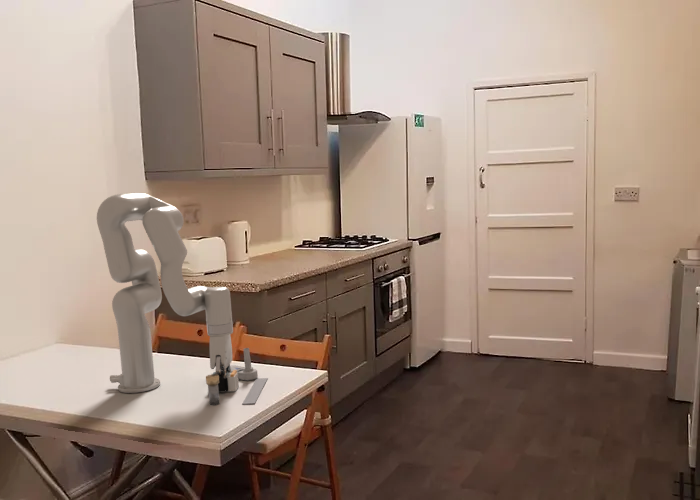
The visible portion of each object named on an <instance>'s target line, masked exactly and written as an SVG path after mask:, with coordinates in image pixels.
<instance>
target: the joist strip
mask: <svg viewBox="0 0 700 500" xmlns="http://www.w3.org/2000/svg"><path fill="white" fill-rule="evenodd" d="M267 381H268V377H264V378H263V377H262V378H258V377H257V378H256V379H254V382H253V384H252V386H251V388H250V389H249V391H248V393H247V395H246V396H245V397H244V400H243V402H242V403H241V405H242V406H243V405H246V406H247V405H256V403H257V400H258V399H259V397H260V395H261V393H262V391H263V389H264V387H265V385H266V383H267Z"/></svg>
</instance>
